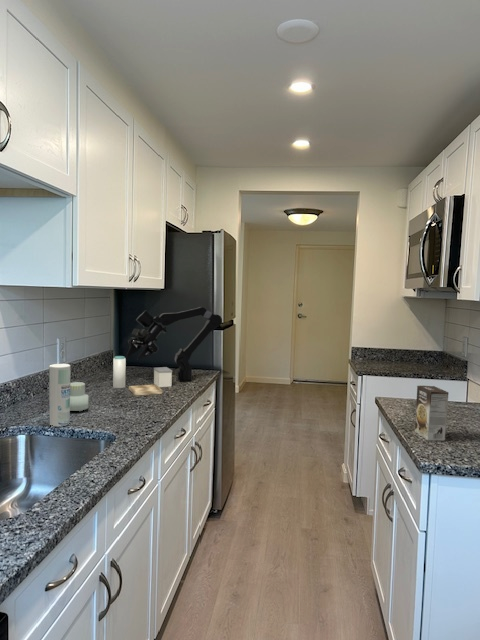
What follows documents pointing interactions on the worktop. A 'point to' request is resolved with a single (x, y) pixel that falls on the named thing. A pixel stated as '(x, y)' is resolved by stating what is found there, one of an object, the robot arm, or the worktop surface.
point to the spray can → (59, 394)
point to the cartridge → (119, 371)
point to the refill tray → (145, 390)
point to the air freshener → (78, 397)
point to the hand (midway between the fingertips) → (131, 358)
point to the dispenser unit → (162, 376)
